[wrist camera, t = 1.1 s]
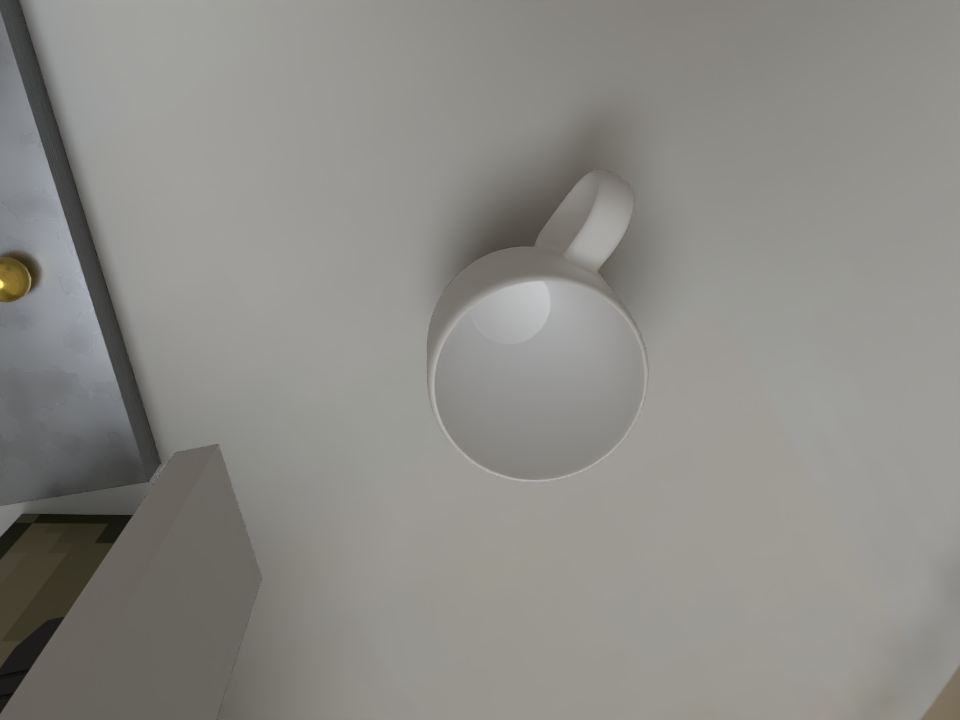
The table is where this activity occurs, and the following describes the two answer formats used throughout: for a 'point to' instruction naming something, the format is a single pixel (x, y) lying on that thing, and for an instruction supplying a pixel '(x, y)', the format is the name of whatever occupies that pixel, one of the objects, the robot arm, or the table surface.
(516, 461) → the mug
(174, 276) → the table surface
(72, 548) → the control panel
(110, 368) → the panel
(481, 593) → the table surface
